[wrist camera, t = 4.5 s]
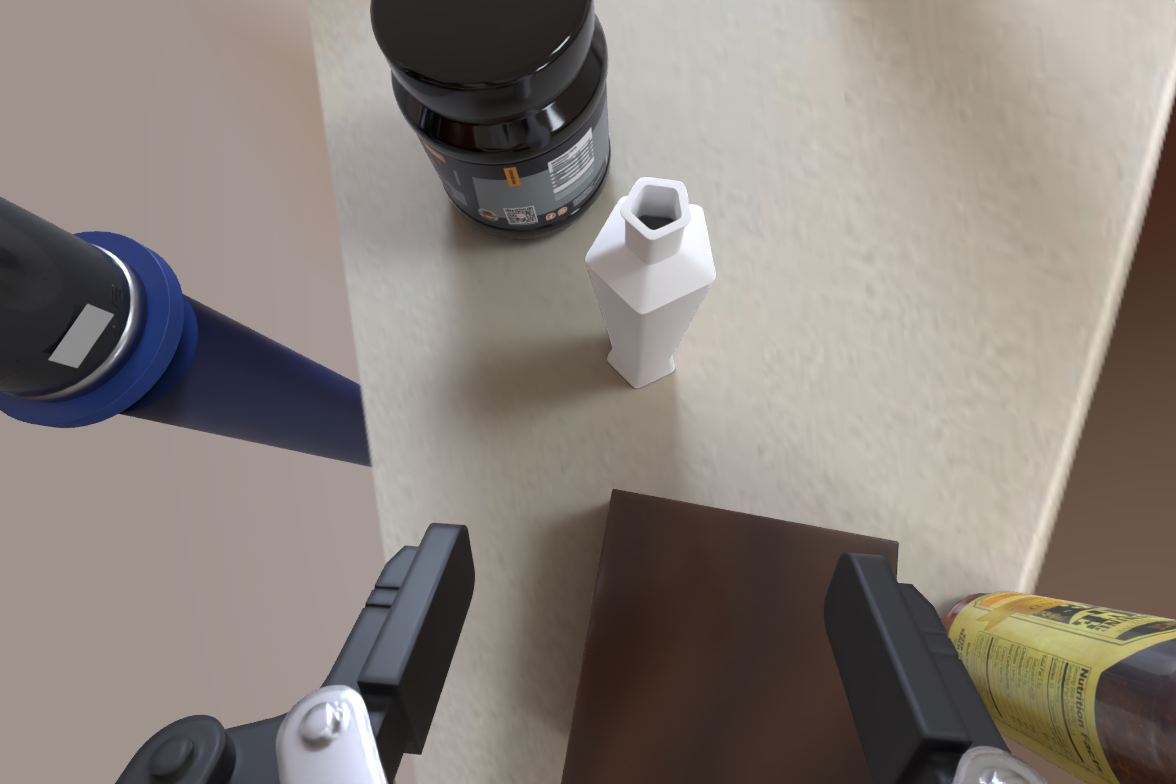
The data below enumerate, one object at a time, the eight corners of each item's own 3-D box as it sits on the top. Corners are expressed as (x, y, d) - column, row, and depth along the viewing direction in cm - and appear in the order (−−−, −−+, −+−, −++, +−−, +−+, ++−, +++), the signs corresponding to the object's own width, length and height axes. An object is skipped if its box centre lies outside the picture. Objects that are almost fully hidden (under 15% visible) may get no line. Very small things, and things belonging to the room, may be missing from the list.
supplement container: (468, 91, 36) (392, -114, 24) (625, 109, 35) (625, -99, 23) (428, 234, 34) (324, 82, 22) (595, 257, 32) (578, 111, 21)
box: (570, 746, 27) (558, 797, 22) (614, 493, 29) (612, 488, 24) (830, 808, 25) (879, 877, 20) (851, 538, 28) (899, 542, 23)
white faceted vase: (595, 387, 31) (567, 267, 16) (609, 315, 32) (594, 140, 17) (675, 401, 30) (722, 289, 16) (687, 328, 31) (742, 158, 17)
